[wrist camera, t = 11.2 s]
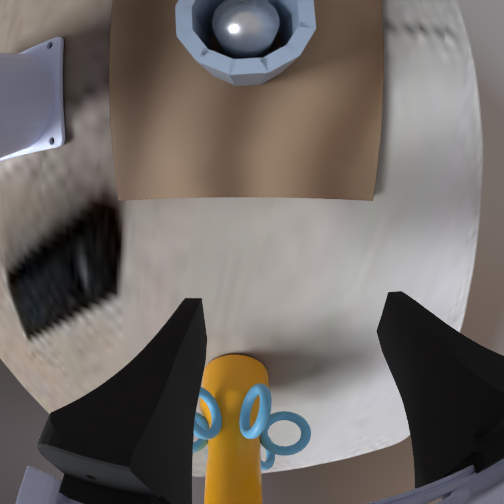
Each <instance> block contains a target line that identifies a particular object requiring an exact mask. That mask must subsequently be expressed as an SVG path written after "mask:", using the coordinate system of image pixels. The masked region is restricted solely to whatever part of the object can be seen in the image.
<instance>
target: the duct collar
mask: <svg viewBox="0 0 504 504" xmlns="http://www.w3.org/2000/svg"><path fill="white" fill-rule="evenodd" d="M224 1H225V0H179V1H178V2H177V4H176V6H175V15H176V36H177V37H178V39H179V40H180V41H181V42H182V44H183V45H184V46H185V48H186V49H187V50H188V51H189V53H190V54H191V55H192V56H193V58H194V59H195V60H196V61H197V62H198V63H199V64H200V65H201V66H202V67H204V68H205V69H206V70H207V71H208V72H209V73H211V74H212V75H213V76H214V77H216V78H218V79H221V80H223V81H226V82H228V83H230V84H232V85H235V86H246V85H261V84H263V83H265V82H267V81H268V80H270V79H272V78H273V77H275V76H277V75H279V74H281V73H282V72H283V71H284V70H285V69H286V68H287V67H288V66H289V65H290V64H291V63H293V62H294V61H295V60H296V59H297V58H298V57H299V56H300V55H301V53H302V52H303V50H304V48H305V46H306V45H307V43H308V41H309V40H310V38H311V36H312V35H313V33H314V31H315V30H316V20H315V10H314V0H267V1H268V2H270V3H271V4H272V5H273V6H274V8H275V9H276V11H277V13H278V15H279V29H278V33H279V34H280V38H281V48H280V49H278V50H276V51H274V52H272V53H270V54H269V55H267V56H265V57H263V58H245V59H232V58H229V57H227V56H225V55H222V54H220V53H217V52H215V51H212V50H211V37H212V36H213V34H214V31H213V27H212V18H213V14H214V12H215V10H216V9H217V7H218V6H219V5H220V4H221V3H222V2H224Z"/></svg>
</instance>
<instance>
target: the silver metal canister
mask: <svg viewBox="0 0 504 504" xmlns="http://www.w3.org/2000/svg"><path fill="white" fill-rule="evenodd" d="M212 27H213V31H214V33H215V35H216V37H217V40H218V42H219V44H220V46H221V48H222V50H223V53H224V55H225V56H227V57H229V58H232V59H245V58H263V57H265V56H267V55H268V53H269V50H270V48H271V46H272V43H273V41H274V38H275V36H276V34H277V31H278V29H279V15H278V13H277V11H276V9H275V8H274V6H273V5H272V4H271V3H270V2H268V1H267V0H225V1H224V2H222V3H221V4H220V5H219V6H218V7H217V9H216V10H215V12H214V14H213V18H212Z"/></svg>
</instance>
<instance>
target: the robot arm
mask: <svg viewBox="0 0 504 504" xmlns="http://www.w3.org/2000/svg"><path fill="white" fill-rule="evenodd" d="M52 43H53V45H52V47H51V48H50V45H51V44H52ZM63 47H64V40H63V38H61V37H55V38H53V39H50V40H48V41H45V42H43V43H40V44H38V45H36V46H33V47H31V48H29V49H27V50H25V51H23V52H20V53H18V54H15V53H0V161H3V160H6V159H10V158H14V157H17V156H21V155H25V154H29V153H33V152H38V151H42V150H47V149H51V148H56V147H60V146H62V145H63V144H64V143H65V126H64V110H63ZM53 138H54V140H55V142H54V144H53V142H52V139H53ZM377 334H378V338H379V341H380V345H381V348H382V352H383V354H384V357H385V359H386V361H387V364H388V366H389V369H390V371H391V373H392V376H393V378H394V380H395V383H396V385H397V387H398V390H399V392H400V395H401V398H402V401H403V404H404V408H405V412H406V416H407V420H408V424H409V429H410V435H411V440H412V447H413V455H414V468H415V489H414V490H411V491H408V492H405V493H401V494H398V495H395V496H392V497H388V498H385V499H381V500H377V501H373V502H370V503H366V504H427V503H430V502H432V501H435V500H437V499H439V498H442V497H443V498H442V500H441V501H439V502H437V503H435V504H504V356H502V355H500V354H498V353H496V352H493V351H491V350H489V349H487V348H485V347H483V346H481V345H479V344H477V343H476V342H474V341H472V340H471V339H469V338H467V337H465V336H464V335H462V334H461V333H459V332H458V331H456V330H455V329H453V328H452V327H450V326H449V325H447V324H446V323H445V322H443V321H442V320H441V319H439V318H438V317H436V316H435V315H434V314H432V313H431V312H430V311H428V310H427V309H426V308H424V307H423V306H422V305H420V304H419V303H418V302H416V301H415V300H414V299H412V298H411V297H409V296H408V295H406V294H405V293H403V292H401V291H400V292H388V295H387V299H386V302H385V306H384V309H383V312H382V316H381V319H380V322H379V325H378V329H377ZM206 347H207V335H206V328H205V320H204V313H203V305H202V298H185V299H184V300H183V301H182V303H181V304H180V305H179V307H178V308H177V309H176V311H175V312H174V313H173V315H172V316H171V317H170V319H169V320H168V321H167V322H166V324H165V325H164V326H163V327H162V329H161V330H160V331H159V332H158V333H157V335H156V336H155V337H154V338H153V339H152V340H151V341H150V342H149V343H148V345H147V346H146V347H145V348H144V349H143V350H142V351H141V352H140V353H139V354H138V355H137V356H136V357H135V358H134V359H133V360H132V361H131V362H130V363H128V364H127V365H126V366H125V367H124V368H123V369H122V370H120V371H119V372H118V373H117V374H115V375H114V376H113V377H111V378H110V379H109V380H107V381H106V382H105V383H103V384H102V385H101V386H99V387H98V388H96V389H95V390H93V391H91V392H90V393H88V394H86V395H85V396H83V397H81V398H80V399H78V400H76V401H74V402H72V403H70V404H68V405H66V406H64V407H62V408H60V409H58V410H56V411H53V412H51V413H50V415H49V417H48V420H47V422H46V424H45V427H44V429H43V432H42V434H41V437H40V439H39V442H38V445H37V448H38V450H39V451H40V453H41V454H42V455H43V456H44V457H45V458H46V459H47V460H48V461H49V462H51V463H52V464H53V465H54V466H55V467H57V468H58V469H59V470H61V471H62V472H63V473H64V477H63V481H62V480H60V479H59V478H56V477H54V476H52V475H50V474H48V473H45V472H43V471H41V470H38V469H36V468H34V467H32V466H27V469H26V472H25V475H24V478H23V481H22V484H21V487H20V490H19V494H18V497H17V500H16V504H192V453H193V435H194V420H195V413H196V407H197V402H198V397H199V392H200V386H201V381H202V376H203V371H204V366H205V360H206Z"/></svg>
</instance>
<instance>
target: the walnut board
mask: <svg viewBox="0 0 504 504" xmlns="http://www.w3.org/2000/svg"><path fill="white" fill-rule="evenodd" d="M178 1H179V0H113V3H112V14H111V28H110V51H109V97H110V120H111V136H112V148H113V159H114V169H115V178H116V186H117V193H118V200H119V201H123V200H142V199H166V198H201V197H288V198H324V199H348V200H367V201H373V197H374V190H375V182H376V174H377V166H378V156H379V146H380V135H381V122H382V105H383V78H384V41H383V15H382V0H314V10H315V20H316V30H315V31H314V33H313V35H312V36H311V38H310V40H309V41H308V43H307V45H306V46H305V48H304V50H303V52H302V53H301V55H300V56H299V57H298V58H297V59H296V60H295V61H294V62H293V63H291V64H290V65H289V66H288V67H287V68H286V69H285V70H284V71H283V72H282V73H281V74H279V75H277V76H275V77H273V78H272V79H270V80H268V81H267V82H265V83H263V84H261V85H246V86H235V85H232V84H230V83H228V82H226V81H223V80H221V79H218V78H216V77H214V76H213V75H212V74H211V73H209V72H208V71H207V70H206V69H205V68H204V67H202V66H201V65H200V64H199V63H198V62H197V61H196V60H195V59H194V58H193V56H192V55H191V54H190V53H189V51H188V50H187V49H186V48H185V46H184V45H183V44H182V42H181V41H180V40H179V39H178V37H177V36H176V15H175V6H176V4H177V2H178ZM280 48H281V38H280V34H279V33H278V31H277V34H276V36H275V38H274V41H273V43H272V46H271V48H270V50H269V53H268V55H269V54H270V53H272V52H274V51H276V50H278V49H280ZM211 50H212V51H215V52H217V53H220V54H222V55H224V53H223V50H222V48H221V46H220V44H219V42H218V40H217V37H216V35H215V33H214V34H213V36H212V37H211Z"/></svg>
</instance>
